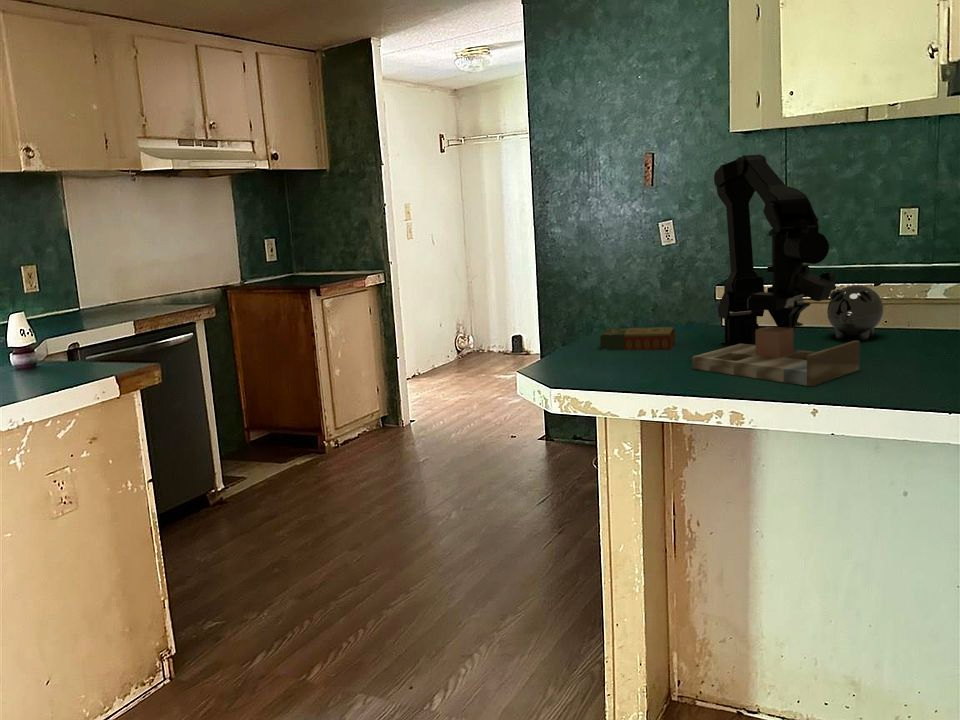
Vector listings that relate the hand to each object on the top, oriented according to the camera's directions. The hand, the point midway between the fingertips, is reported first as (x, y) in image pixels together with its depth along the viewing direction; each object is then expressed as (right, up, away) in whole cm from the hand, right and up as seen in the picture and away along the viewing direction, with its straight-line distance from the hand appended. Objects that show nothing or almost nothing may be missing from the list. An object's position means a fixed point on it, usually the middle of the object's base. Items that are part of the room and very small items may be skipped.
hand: (787, 340), depth 162 cm
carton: (-24, -1, +29) cm, 37 cm away
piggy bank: (+23, +1, +21) cm, 31 cm away
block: (-3, -3, -2) cm, 5 cm away
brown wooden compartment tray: (-4, -6, -4) cm, 8 cm away
